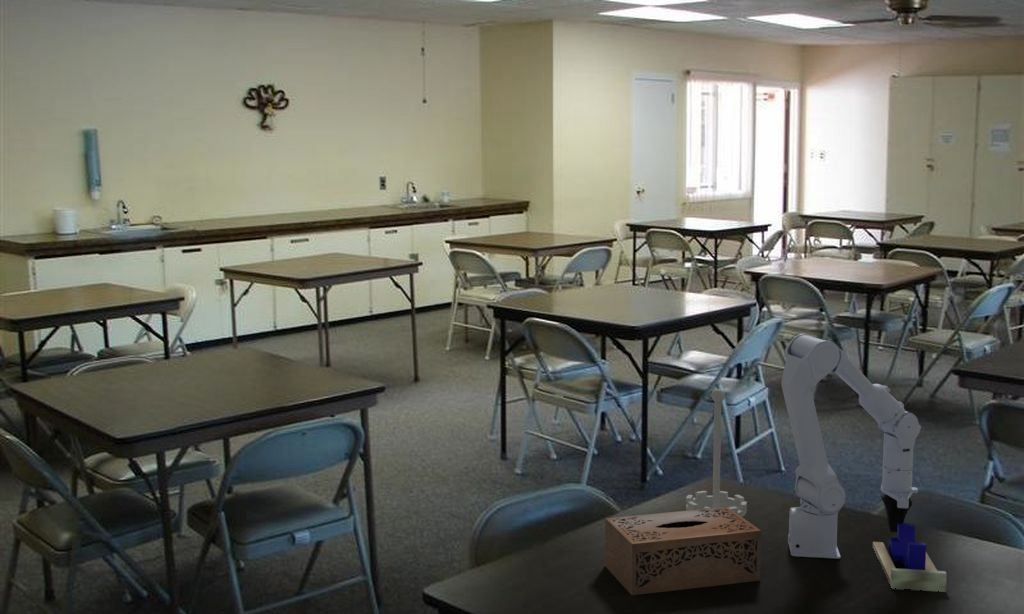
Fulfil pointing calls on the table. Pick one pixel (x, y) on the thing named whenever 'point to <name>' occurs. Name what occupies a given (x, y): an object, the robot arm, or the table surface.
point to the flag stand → (717, 472)
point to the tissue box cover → (682, 550)
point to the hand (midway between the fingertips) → (895, 531)
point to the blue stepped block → (908, 548)
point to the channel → (910, 573)
